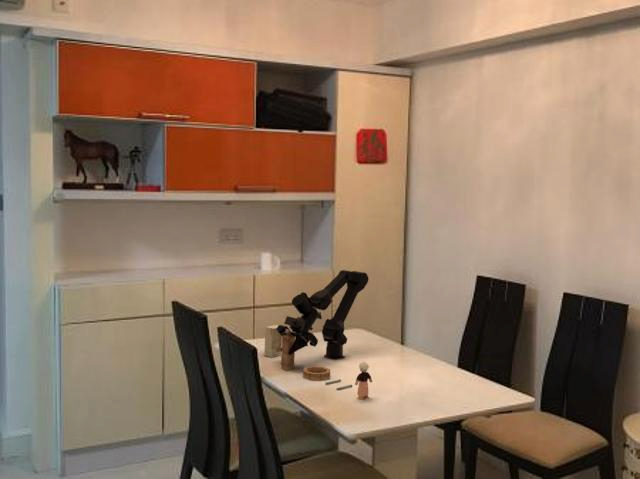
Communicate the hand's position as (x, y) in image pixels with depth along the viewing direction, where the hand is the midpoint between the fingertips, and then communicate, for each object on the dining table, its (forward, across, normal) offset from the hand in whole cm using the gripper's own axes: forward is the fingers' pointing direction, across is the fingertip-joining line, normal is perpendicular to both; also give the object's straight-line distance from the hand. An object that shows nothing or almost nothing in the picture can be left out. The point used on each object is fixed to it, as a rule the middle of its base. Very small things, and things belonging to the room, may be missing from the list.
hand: (285, 352), depth 269 cm
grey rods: (+4, +27, +6) cm, 28 cm away
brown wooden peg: (+4, 0, +6) cm, 7 cm away
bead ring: (+3, +14, +7) cm, 16 cm away
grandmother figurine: (+7, +42, +3) cm, 42 cm away
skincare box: (-2, -18, +12) cm, 22 cm away
